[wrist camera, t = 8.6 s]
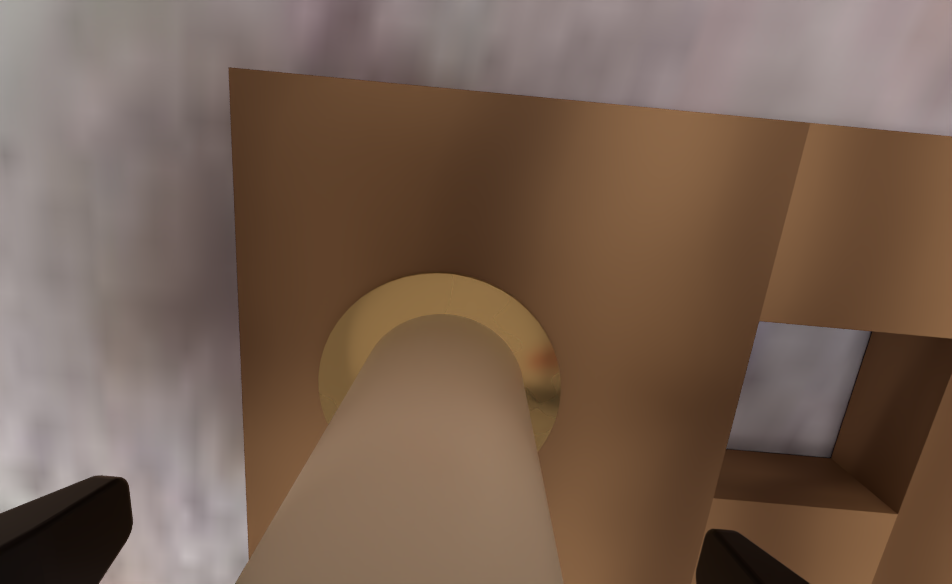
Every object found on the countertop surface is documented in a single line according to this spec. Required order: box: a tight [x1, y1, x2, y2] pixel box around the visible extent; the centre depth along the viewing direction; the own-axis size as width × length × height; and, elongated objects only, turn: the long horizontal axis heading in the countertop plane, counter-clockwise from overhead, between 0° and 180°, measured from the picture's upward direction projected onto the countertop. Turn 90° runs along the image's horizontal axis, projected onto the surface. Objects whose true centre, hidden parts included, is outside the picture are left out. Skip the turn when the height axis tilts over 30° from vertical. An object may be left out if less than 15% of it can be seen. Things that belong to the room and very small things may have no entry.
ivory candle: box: [235, 314, 564, 584], centre depth 8 cm, size 4×4×8 cm
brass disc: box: [318, 272, 561, 452], centre depth 12 cm, size 6×6×1 cm
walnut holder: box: [229, 68, 952, 584], centre depth 13 cm, size 20×14×2 cm
